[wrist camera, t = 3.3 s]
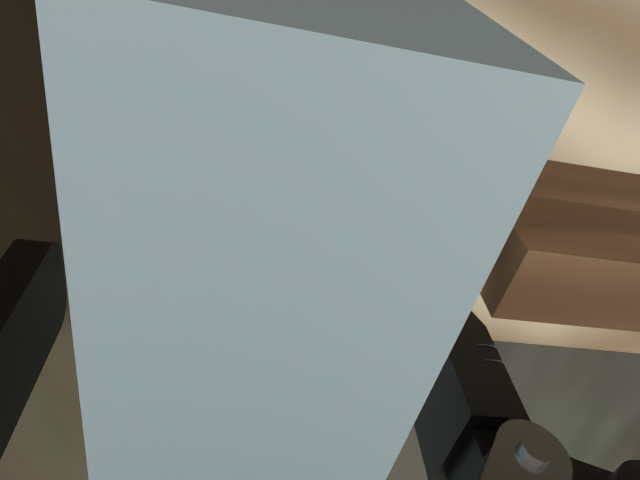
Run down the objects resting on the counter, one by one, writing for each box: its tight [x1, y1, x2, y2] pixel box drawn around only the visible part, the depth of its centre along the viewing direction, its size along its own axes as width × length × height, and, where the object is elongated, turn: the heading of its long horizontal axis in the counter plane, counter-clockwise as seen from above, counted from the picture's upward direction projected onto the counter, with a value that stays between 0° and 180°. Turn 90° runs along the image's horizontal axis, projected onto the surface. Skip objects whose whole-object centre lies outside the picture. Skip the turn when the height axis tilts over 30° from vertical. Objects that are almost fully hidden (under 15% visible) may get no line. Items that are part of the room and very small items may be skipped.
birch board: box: [465, 0, 640, 353], centre depth 19 cm, size 16×32×1 cm, turn 79°
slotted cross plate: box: [35, 0, 585, 480], centre depth 12 cm, size 14×3×13 cm, turn 169°
